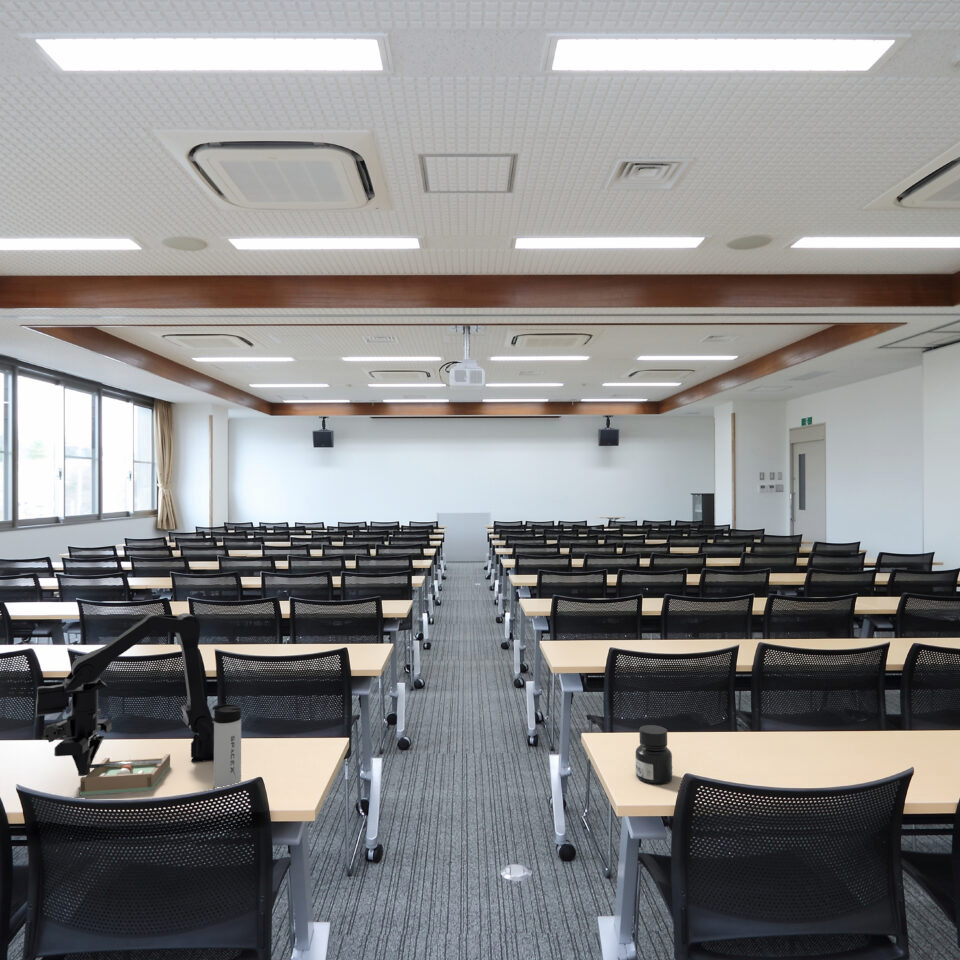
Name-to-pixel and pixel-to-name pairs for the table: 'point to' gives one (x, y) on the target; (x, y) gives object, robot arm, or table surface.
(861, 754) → the table surface
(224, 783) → the travel mug
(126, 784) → the pitch
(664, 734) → the ink bottle
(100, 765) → the rubber mallet
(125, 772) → the ball
